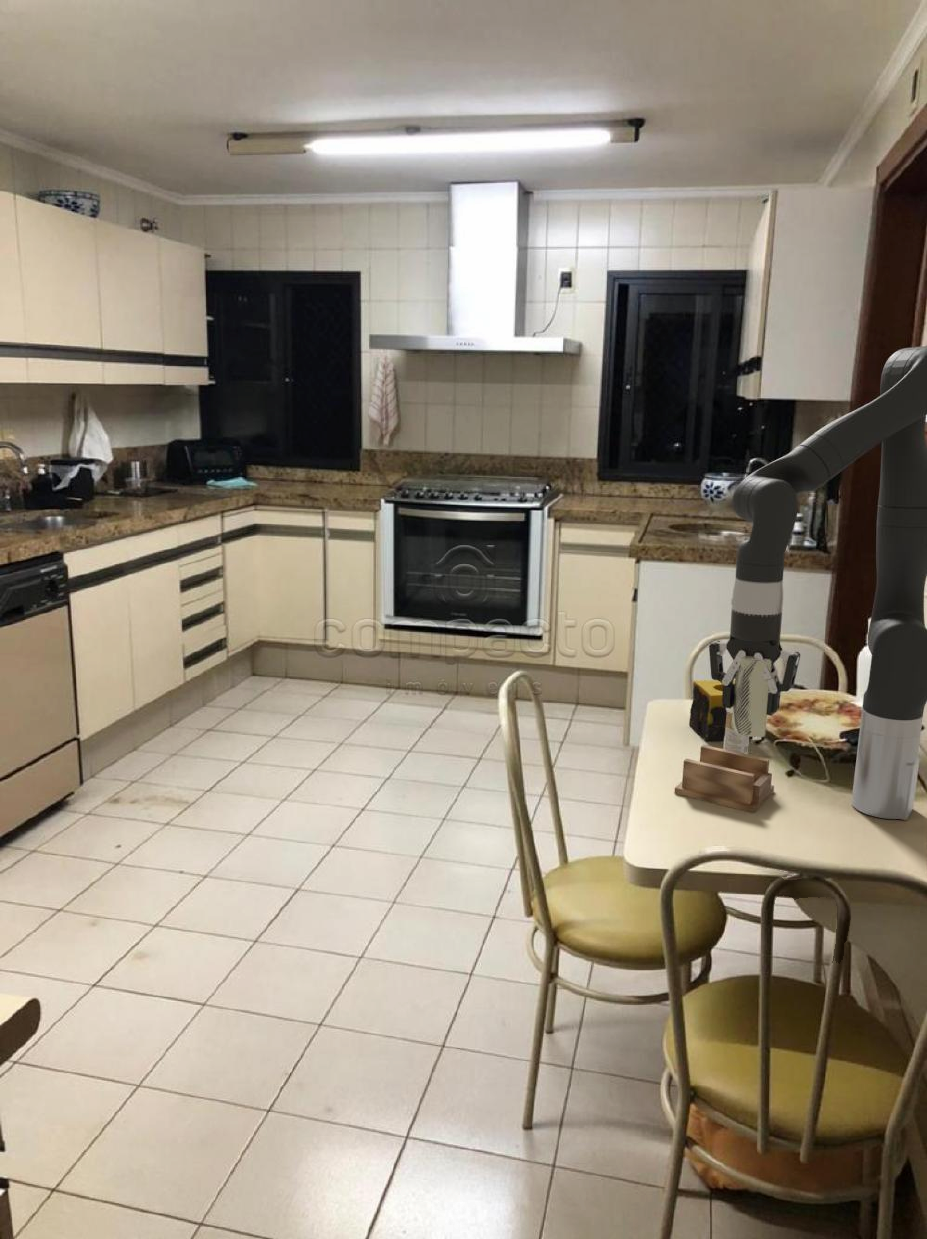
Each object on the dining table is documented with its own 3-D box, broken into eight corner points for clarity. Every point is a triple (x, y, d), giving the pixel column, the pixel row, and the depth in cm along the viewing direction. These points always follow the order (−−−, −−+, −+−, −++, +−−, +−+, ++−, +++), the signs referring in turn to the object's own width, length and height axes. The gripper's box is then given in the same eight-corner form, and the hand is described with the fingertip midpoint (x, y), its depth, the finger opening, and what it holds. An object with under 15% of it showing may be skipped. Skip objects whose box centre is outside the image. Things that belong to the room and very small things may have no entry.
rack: (773, 791, 169) (776, 759, 168) (753, 813, 160) (756, 779, 159) (697, 773, 177) (699, 742, 175) (674, 793, 168) (676, 760, 166)
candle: (688, 725, 202) (691, 680, 200) (734, 724, 203) (738, 679, 201) (705, 742, 192) (708, 695, 190) (753, 741, 193) (757, 694, 191)
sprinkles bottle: (731, 763, 181) (736, 695, 178) (751, 770, 178) (757, 701, 175) (716, 769, 179) (721, 700, 175) (737, 776, 175) (742, 706, 172)
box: (730, 726, 156) (735, 650, 153) (757, 726, 156) (763, 650, 153) (738, 738, 151) (744, 659, 148) (767, 738, 151) (772, 659, 148)
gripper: (811, 608, 148) (802, 712, 152) (719, 597, 156) (713, 696, 159) (797, 618, 142) (788, 725, 146) (703, 606, 149) (697, 708, 153)
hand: (749, 710), depth 152 cm, fingers closed on box, 6 cm apart
